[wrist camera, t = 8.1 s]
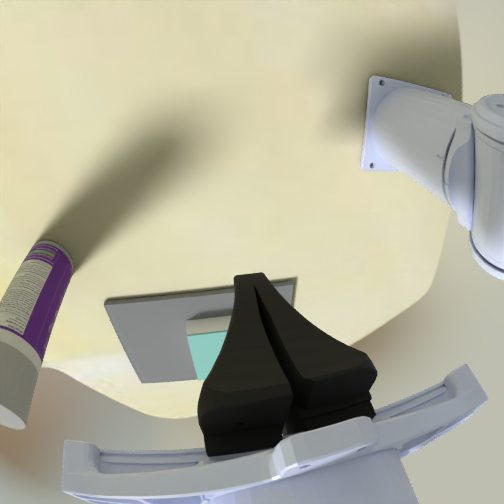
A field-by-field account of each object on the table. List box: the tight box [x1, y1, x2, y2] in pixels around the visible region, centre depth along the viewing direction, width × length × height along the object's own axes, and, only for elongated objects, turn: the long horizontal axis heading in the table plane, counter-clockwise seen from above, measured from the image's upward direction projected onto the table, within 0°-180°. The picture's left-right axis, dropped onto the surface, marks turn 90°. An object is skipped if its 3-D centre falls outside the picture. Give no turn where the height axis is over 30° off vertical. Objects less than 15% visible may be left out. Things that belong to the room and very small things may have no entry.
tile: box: [186, 316, 231, 380], centre depth 30 cm, size 2×8×6 cm
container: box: [0, 241, 74, 429], centre depth 16 cm, size 5×5×15 cm
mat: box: [104, 281, 294, 383], centre depth 31 cm, size 18×14×1 cm
